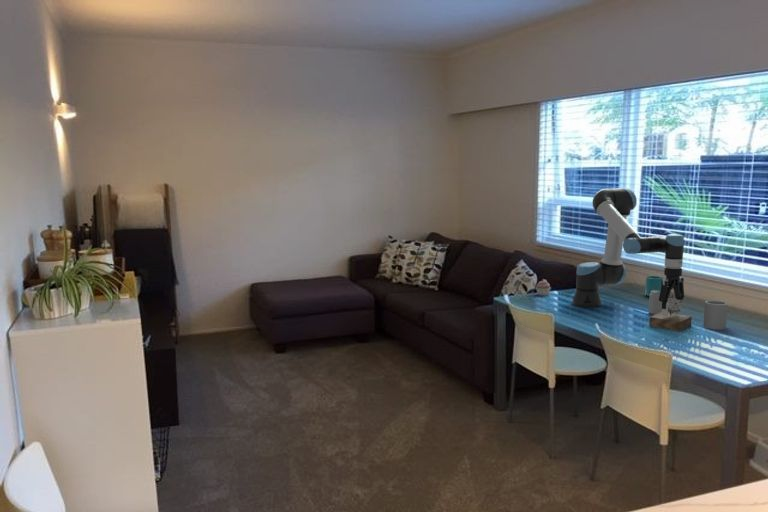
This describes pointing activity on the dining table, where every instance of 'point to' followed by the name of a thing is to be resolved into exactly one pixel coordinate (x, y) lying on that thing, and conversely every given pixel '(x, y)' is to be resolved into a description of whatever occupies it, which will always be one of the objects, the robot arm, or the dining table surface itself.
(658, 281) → the cup
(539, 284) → the cupcake
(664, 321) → the walnut block
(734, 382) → the dining table surface
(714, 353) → the dining table surface
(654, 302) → the can
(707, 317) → the cup
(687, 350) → the dining table surface
